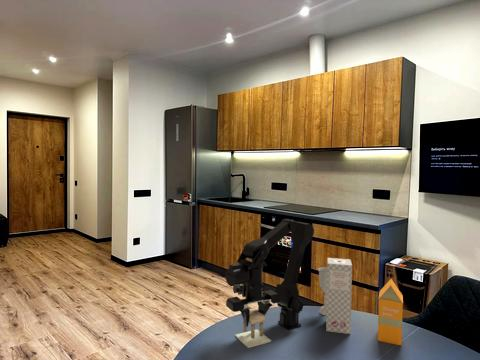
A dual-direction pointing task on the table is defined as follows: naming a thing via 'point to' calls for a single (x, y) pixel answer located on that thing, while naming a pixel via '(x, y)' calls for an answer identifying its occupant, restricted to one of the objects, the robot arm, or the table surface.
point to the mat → (250, 342)
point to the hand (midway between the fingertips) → (253, 324)
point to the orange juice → (390, 314)
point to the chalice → (323, 287)
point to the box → (339, 295)
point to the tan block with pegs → (255, 322)
